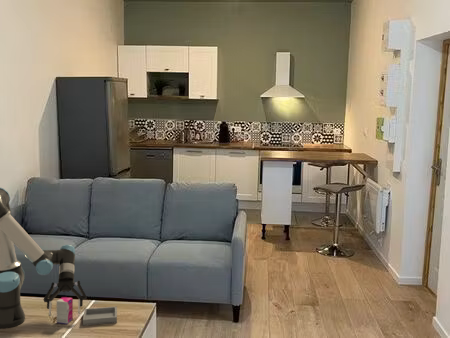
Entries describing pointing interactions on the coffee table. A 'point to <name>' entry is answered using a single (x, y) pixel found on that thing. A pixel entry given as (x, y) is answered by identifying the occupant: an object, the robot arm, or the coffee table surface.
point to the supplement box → (64, 310)
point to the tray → (100, 316)
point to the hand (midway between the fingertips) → (64, 314)
